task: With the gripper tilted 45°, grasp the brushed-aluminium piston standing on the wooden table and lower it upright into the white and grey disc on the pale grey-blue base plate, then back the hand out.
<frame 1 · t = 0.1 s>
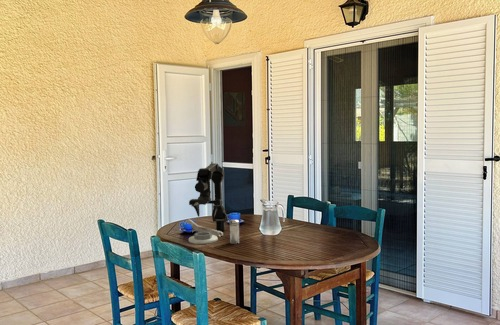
hand: (206, 216, 267), 15 cm above the table, tool pointing down, fingers open, 9 cm apart
wrench: (203, 234, 288), on the table
piston: (234, 242, 264), on the table
white and grey disc: (203, 240, 271), on the table
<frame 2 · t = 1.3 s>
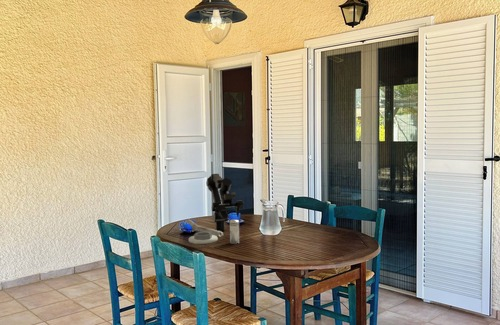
hand: (230, 217, 270), 13 cm above the table, tool tilted 45°, fingers open, 9 cm apart
nothing on the table moved.
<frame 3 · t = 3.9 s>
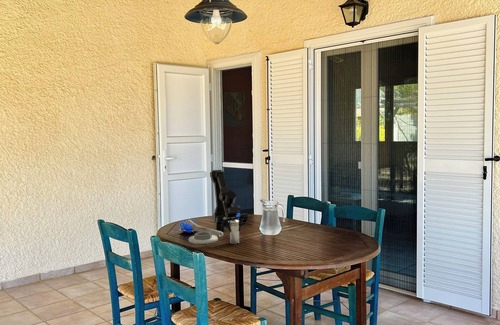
hand: (235, 231, 262), 7 cm above the table, tool tilted 45°, fingers closed on piston, 5 cm apart
piston: (234, 242, 264), on the table, touching gripper
everything else where it was.
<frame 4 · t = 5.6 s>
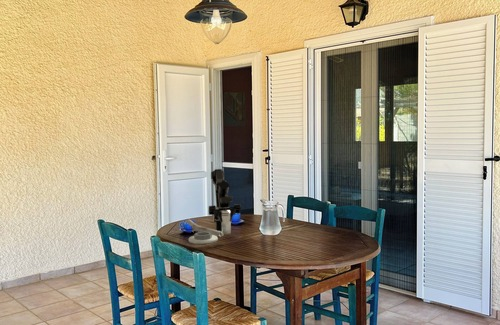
hand: (226, 221, 263), 12 cm above the table, tool tilted 45°, fingers closed on piston, 5 cm apart
piston: (226, 232, 264), point 6 cm above the table, touching gripper
everything else where it was.
when the fingers open (10 cm above the table, at t = 7.7 s): piston drops 1 cm, resting on white and grey disc.
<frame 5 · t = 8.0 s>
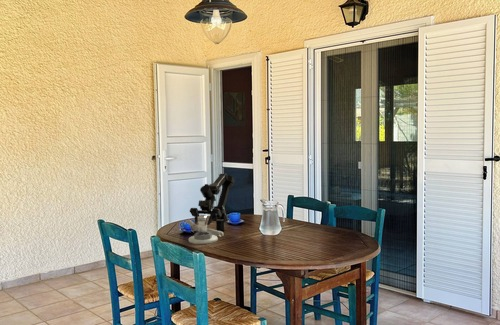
hand: (201, 224, 269), 10 cm above the table, tool tilted 45°, fingers open, 8 cm apart
piston: (203, 237, 271), point 2 cm above the table, touching white and grey disc
everything else where it was.
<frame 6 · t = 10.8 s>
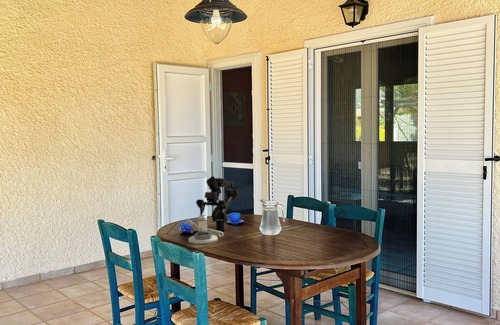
hand: (207, 215, 278), 13 cm above the table, tool tilted 45°, fingers open, 9 cm apart
nothing on the table moved.
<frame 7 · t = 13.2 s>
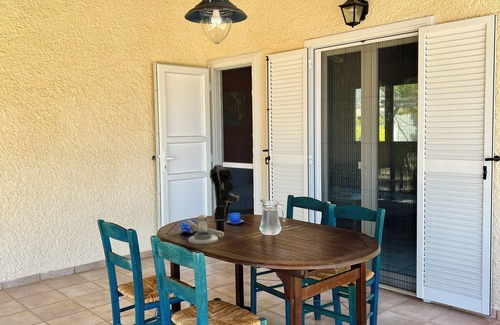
hand: (225, 215, 279), 13 cm above the table, tool pointing down, fingers open, 9 cm apart
nothing on the table moved.
at the end: piston 0.1 cm off-centre on the white and grey disc, point 1.5 cm above the white and grey disc's base; piston tilted 0°; the gripper is holding nothing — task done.
